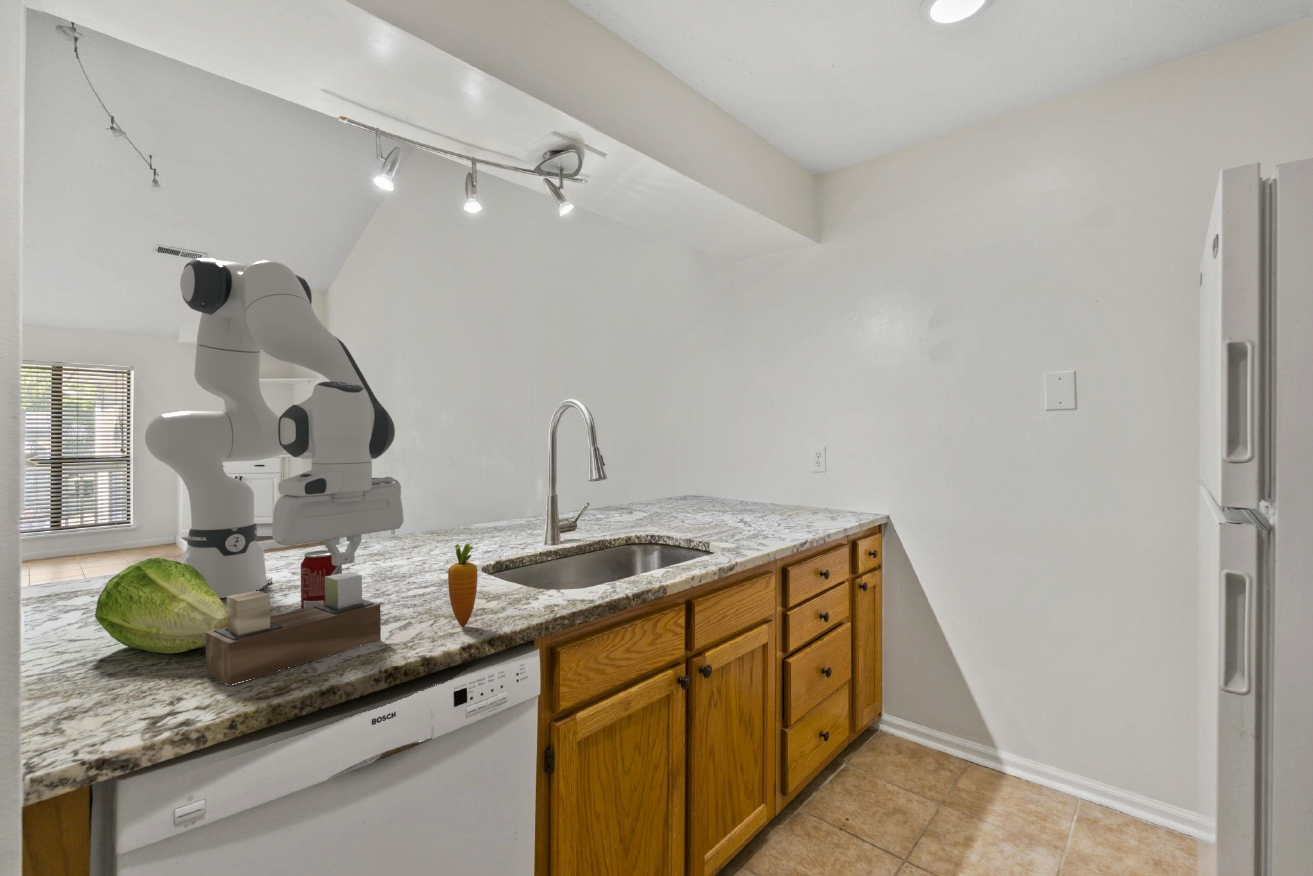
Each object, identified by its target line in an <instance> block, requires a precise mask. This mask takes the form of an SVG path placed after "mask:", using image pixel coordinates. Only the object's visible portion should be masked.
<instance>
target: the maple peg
mask: <svg viewBox="0 0 1313 876" xmlns="http://www.w3.org/2000/svg"><path fill="white" fill-rule="evenodd" d="M226 606H227V631H228V632H230V633H233V634H235V635H237V636H239V635H243V634H247V633H251V632H255V631H259V630H263V629H267V628H270V617H271V595H270V593H266V592H263V591H260V590H257V591H252V592H247V593H242V594H237V595H232V596H227V597H226Z"/></svg>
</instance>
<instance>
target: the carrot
mask: <svg viewBox="0 0 1313 876" xmlns="http://www.w3.org/2000/svg"><path fill="white" fill-rule="evenodd" d="M454 548H455V553H456V554H455V555H456V558H457V560H458V562H455V563H453V564H452V565H451V566H449V567H448V569H447V570H448V571H447V576H448V577H447V578H448V593H449V596H448V597H449V599H450V600H449V601H450V604H451V609H452V611H453V615H454V616H455V619H456V620H457V622H458V625H460V626H461V627H462V628H464V627H466V625H467V624H468V623H469V620H470V618H471V616H472V614H473V611H474V607H475V602H476V597H477V590H478V589H477V588H478V567H477V565H476V564H475V563H473V562H471V561H468V560H470V558H471V557H472V555H471V554H469V553H470V552H471V551H472V550H473V549H474V546H473V545H471V546H470V543H465V544H464V546H463V549H461V546H460V544H459V543H457V544H455V545H454Z"/></svg>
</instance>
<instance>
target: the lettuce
mask: <svg viewBox="0 0 1313 876" xmlns="http://www.w3.org/2000/svg"><path fill="white" fill-rule="evenodd" d="M96 601H97V602H96V608H95V612H94V613H95V614H94V618H95V619H96V621H97V622H98V623H99V625H101V626H102V628H103V629H104V630H105V631H106V633H108V634H109V636H110V637H111V638H113V640H115V641H116V642H117V641H118V642H119V643H120V644H121V645H123V646H125V647H129V648H132V649H136V650H142V651H147V652H151V653H156V654H158V653H159V654H177V653H179V654H180V653H184V652H188V651H191V650H195V649H196V650H197V649H201V648H206V636H205V632H208V631H212V630H216V629H221V628H225V627H227V604H225V603H224V602H223V601H222V600H221V598H219V597H218V596H217V594H216V593H215V592H214V591H213V590H212V589H211V588H210V587H209V585H208V584H207V583H206V581H205V579H204V577H203V576H202V575H201V574H200V573H199V572H198V571H197V570H196V569H195V568H193V567H192V566H189V565H186V564H183V563H180V562H177V560H171V559H166V558H161V557H149V558H146V559H144V560H142V561H138V562H137V563H134V564H132V565H129V566H127V567H126V568H124V569H123V570H121V571H120V572H119V573H117V574H116V575H114V576H113V577H112V578H110V579H109V580H108V581H107V583H106V584H105V586H104V588H103V590H102V591H101V593H100V594H99V596H98V598H97V600H96Z"/></svg>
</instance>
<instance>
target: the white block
mask: <svg viewBox="0 0 1313 876" xmlns="http://www.w3.org/2000/svg"><path fill="white" fill-rule="evenodd" d="M362 599H363V575H362V574H359V573H355V572H352V571H346V572H342V573H341V574H336V575H331V576H326V577H325V607H327V608H330V609H333V610H337V611H338V610H342V609H346V608H350V607H354V606H358V605H362Z"/></svg>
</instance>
